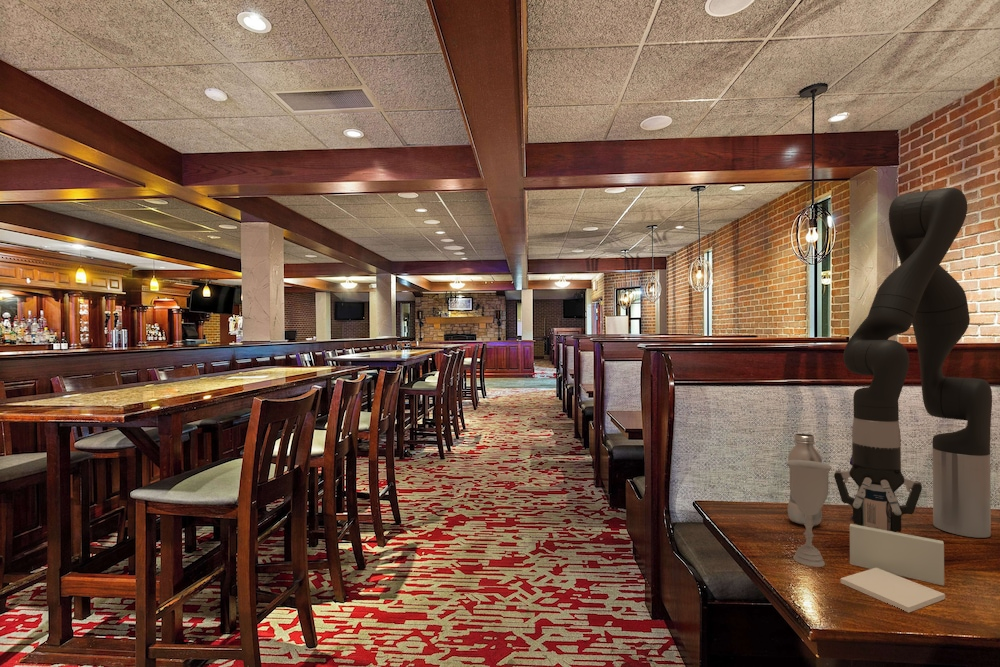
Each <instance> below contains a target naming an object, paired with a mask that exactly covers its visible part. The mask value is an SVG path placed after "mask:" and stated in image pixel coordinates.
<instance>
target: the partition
mask: <svg viewBox="0 0 1000 667" xmlns="http://www.w3.org/2000/svg"><path fill="white" fill-rule="evenodd" d="M849 565H852V566H856V567H860V568H865V569H868V570H870V569H873V568H879V569H881V570H884V571H887V572H889V573H892V574H894V575H897V576H900V577H903V578H909V579H912V580H917V581H922V582H925V583H930V584H934V585H939V586H943V587H944V586H945V544H944V541H943V540H938V539H934V538H929V537H924V536H923V537H922V536H917V535H913V534H906V533H902V532H892V531H887V530H881V529H876V528H871V527H865V526H860V525H857V524H854V523H850V524H849Z"/></svg>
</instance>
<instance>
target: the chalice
mask: <svg viewBox="0 0 1000 667" xmlns="http://www.w3.org/2000/svg"><path fill="white" fill-rule="evenodd" d="M786 465H787V466H788V468H789V492H790V491H791V493H792V496H793V499H794V500H795V502H796V504H797V506H798V508H799V510H800V511H801V512H803V513H805V516H806V520H805V523H804V525H803V526H804V527H805V531H804V532H803V533H802V534H803V535H804V537H805V542H804V543H803V544H802V545H800V546H799V547H797V550H796V551H795V554H794V556H793V560H794V561H796V562H797V563H799V564H801V565H804V566H808V567H817V568H818V567H819V568H820V567H824V566H825V565H826V562H825V561H824V558H823V556H822V554H821V551H820V550H819V549H818V548H817V547H815V546H814V544H813V538H814V537H815V534H814V533H813V531H812V530H813V527H815V526H814V525H813V523H812V515H814V514H818V512H819V511H820V509H821V510H822V507H823V506H824V505H825V503H826V500H827V498H828V496H829V473H830V472H831V469H833V468H832V465H830V464H827V463H823V462H822V463H820V462H815V461H806V460H789V461H788V460H786Z"/></svg>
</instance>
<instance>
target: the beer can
mask: <svg viewBox="0 0 1000 667" xmlns="http://www.w3.org/2000/svg"><path fill="white" fill-rule="evenodd" d="M864 489H865V498H864V499H863V501H862V504H861V511H862V526H865V527H871V528H876V529H881V530H887V531H892V512H893V510H892V508H891V505H890V503H889V501H888V499H887V496H886V492H887V491H886V490H885V489H883V487H882V485H876V484H871V485H870V487H866V488H864ZM888 492H889V491H888ZM862 493H863V492H862ZM890 497H891V496H890Z"/></svg>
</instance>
